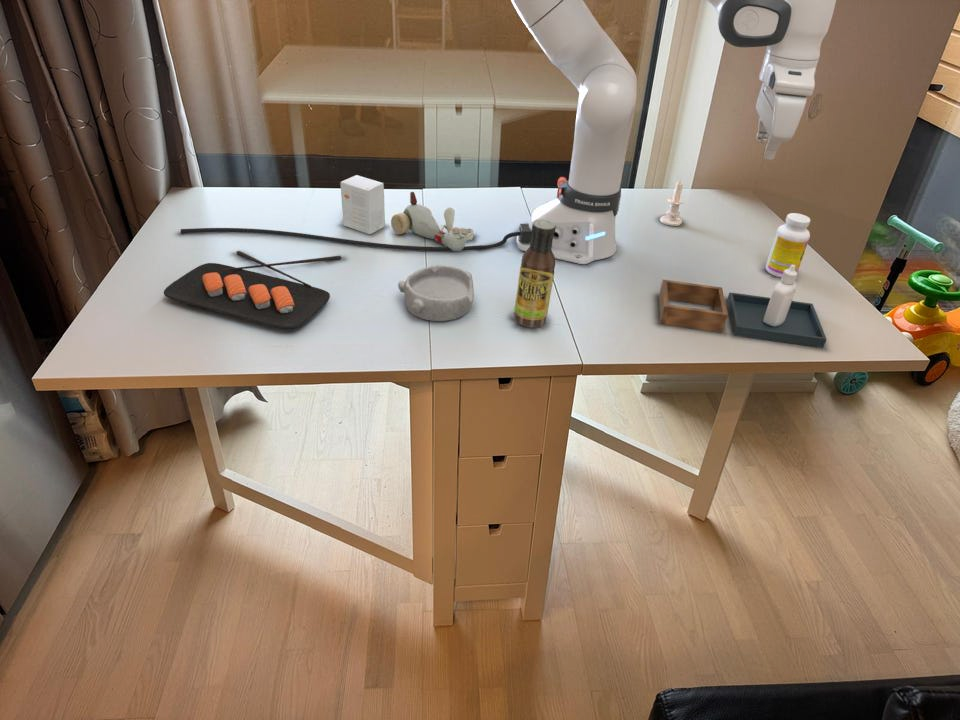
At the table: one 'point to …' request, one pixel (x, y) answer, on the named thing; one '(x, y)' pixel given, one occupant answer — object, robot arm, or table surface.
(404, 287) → the dish
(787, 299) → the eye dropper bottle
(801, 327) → the tray
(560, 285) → the table surface
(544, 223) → the sauce bottle
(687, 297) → the crate
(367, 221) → the small box
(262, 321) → the sushi plate
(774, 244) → the supplement bottle
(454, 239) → the toy dog
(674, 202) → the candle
